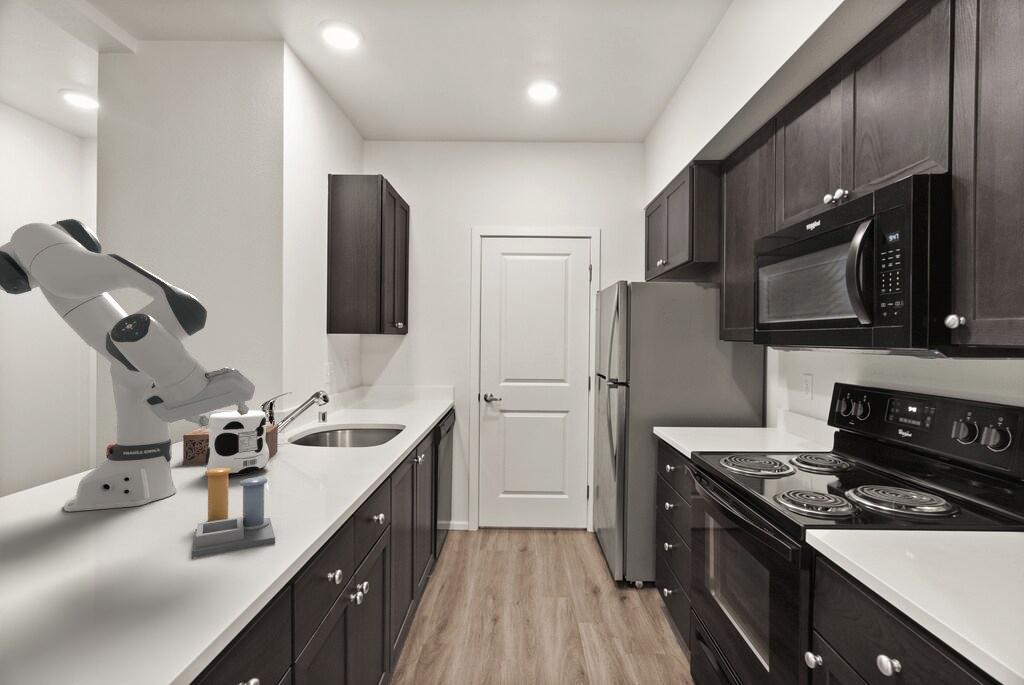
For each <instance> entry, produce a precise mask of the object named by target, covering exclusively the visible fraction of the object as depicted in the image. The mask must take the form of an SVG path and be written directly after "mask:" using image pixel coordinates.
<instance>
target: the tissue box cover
mask: <svg viewBox="0 0 1024 685" xmlns="http://www.w3.org/2000/svg"><path fill="white" fill-rule="evenodd" d="M278 429H279V426H278V424H277V425H266V442H267V446H268V449H269V460H268V462H269V461H270V460H271V459H272V458H273V457H274V456H275V455H276V454H277V453H278V450H279V448H278V447H279V446H278V445H279V444H278V440H279V438H278V436H279V432H278ZM182 440H183V442H182V447H183V448H182V450H183V452H182V454H183V455H182V465H183V466H184V465H187V464H189V465H206V463H205V457H206V453H207V450H208V446H209V427H198V428H196V429H193V430H191V431H189V432H187V433H185V434H183V439H182Z"/></svg>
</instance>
